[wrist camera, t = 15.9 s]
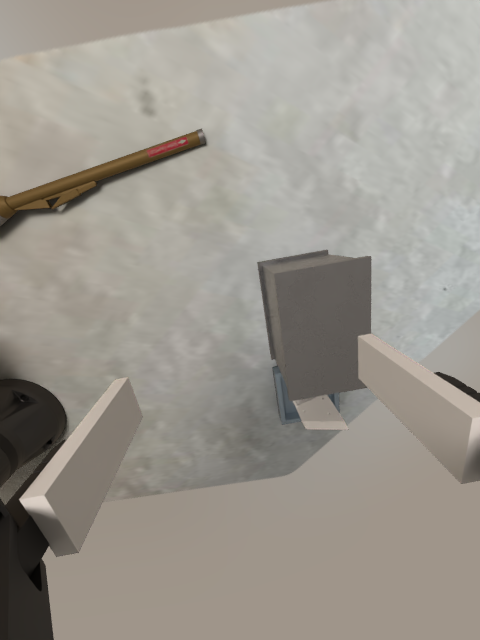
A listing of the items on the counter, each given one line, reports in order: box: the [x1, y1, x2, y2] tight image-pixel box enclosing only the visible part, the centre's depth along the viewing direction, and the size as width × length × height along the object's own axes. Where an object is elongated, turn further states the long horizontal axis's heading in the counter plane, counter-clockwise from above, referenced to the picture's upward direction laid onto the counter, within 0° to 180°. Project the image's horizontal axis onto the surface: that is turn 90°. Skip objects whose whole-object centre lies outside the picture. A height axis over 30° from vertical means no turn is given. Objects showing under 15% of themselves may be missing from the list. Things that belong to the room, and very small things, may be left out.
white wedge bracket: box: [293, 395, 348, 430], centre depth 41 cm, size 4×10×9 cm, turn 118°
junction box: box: [257, 250, 371, 401], centre depth 35 cm, size 11×17×13 cm, turn 10°
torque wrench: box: [0, 129, 206, 226], centre depth 32 cm, size 5×35×5 cm
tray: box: [272, 366, 340, 425], centre depth 45 cm, size 11×11×2 cm
